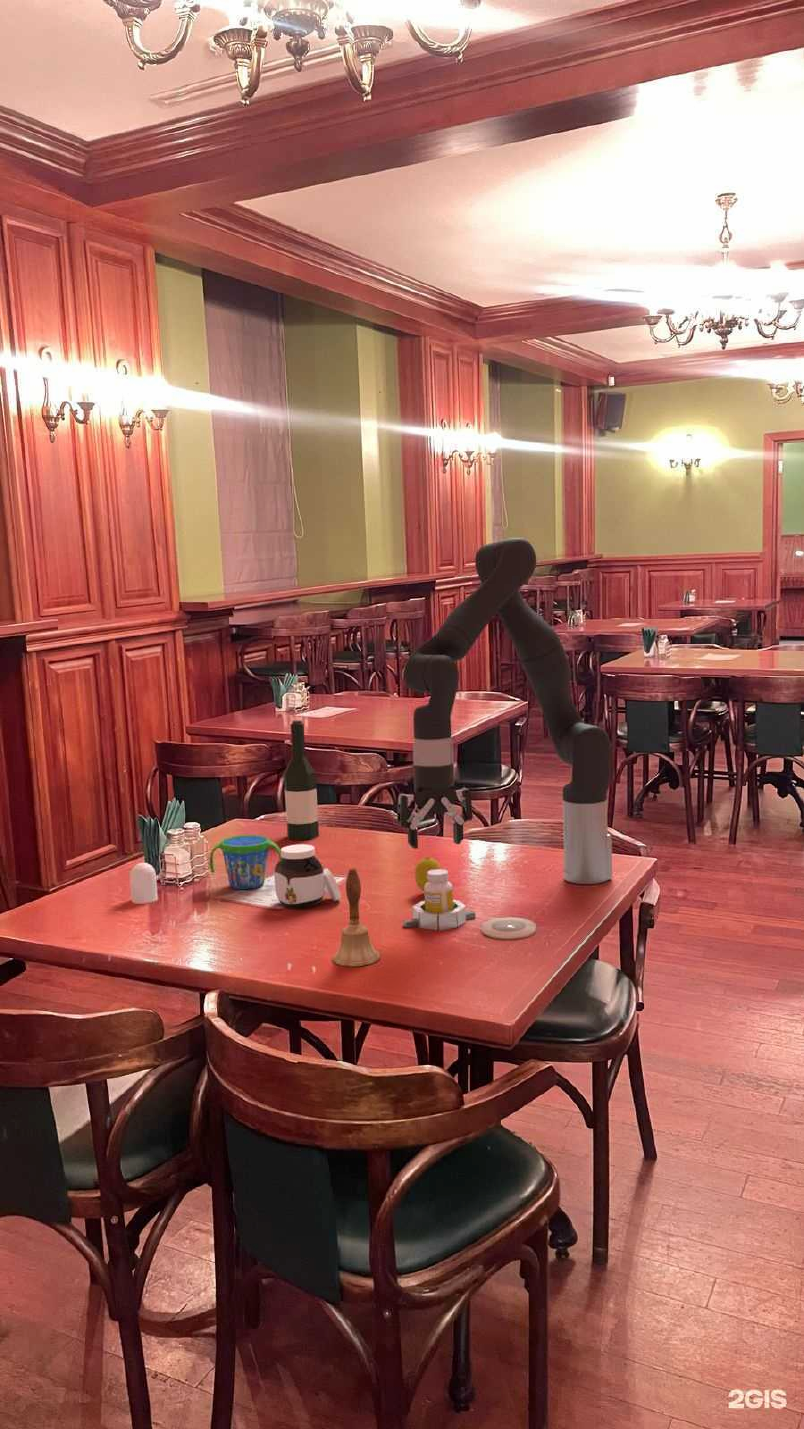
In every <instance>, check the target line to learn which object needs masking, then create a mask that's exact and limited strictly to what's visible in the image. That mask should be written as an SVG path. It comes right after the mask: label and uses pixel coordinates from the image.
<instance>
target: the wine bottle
mask: <svg viewBox="0 0 804 1429" xmlns="http://www.w3.org/2000/svg"><path fill="white" fill-rule="evenodd" d="M290 739H291V753H292V754H291V758H290V760H289V763H288V764H287V766H286V768H285V769H284V772H283V780H284V783H283V784H284V797H285V799H284V800H285V815H286V817H285V818H286V833H287V836H288V837H287V839H288V840H292V841H308V840H307V839H309V840H313V839H312V838H314V837H316V838H318V837H317V836H319V837H320V834H319V833H320V832H319V829H320V828H319V814H318V812H319V810H318V792H317V775H316V771H315V769H314V768H313V766H312V765H311V763H310V761H309V760H308V758H307V756H306V745H305V744H306V742H305V724H304V723H303V721H302V719H301V720H300V719H295V720H292V721H291V723H290ZM314 839H315V838H314Z"/></svg>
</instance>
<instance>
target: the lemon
mask: <svg viewBox="0 0 804 1429" xmlns="http://www.w3.org/2000/svg"><path fill="white" fill-rule="evenodd" d="M441 868H442V867H441V865H440V863H439V862H438V861H437V860H435V859H434V858H432V857H430V856H425V858H422V859H420V860H419V861H418V863H417V865H416V867H415V871H414V879H415V883H416V886H417V887H418V888H419V889H420V890H422V891H423V892H424V886H425V884H426V883H428V882H429V881H428V880H427V872H428V871H430V870H436V869H441Z"/></svg>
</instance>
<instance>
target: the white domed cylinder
mask: <svg viewBox="0 0 804 1429" xmlns="http://www.w3.org/2000/svg"><path fill="white" fill-rule="evenodd" d="M156 874H157V873H156V870H155V868H154V867H153V866H152V865H151V864H149V863H147V862H139V863H137V864H136V865H133V867H132V869H131V870H130V873H129V882H130V884H129V885H130V896H131V903H133V904H140V905H142V904H143V905H144V904H150V903H154V902H156V901H157V900H158V899H159V898H158V886H157V875H156Z"/></svg>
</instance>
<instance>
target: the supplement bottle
mask: <svg viewBox="0 0 804 1429" xmlns="http://www.w3.org/2000/svg"><path fill="white" fill-rule="evenodd" d="M427 880H428V881H429V882H428V883H426V884H425V886H424V891H423V892H424V895H423V896H424V901H425V911H429V912H437V913H439V912H446V911H453V900H454V892H453V890H454V889H453V884H452V883H451V882H450V881H448V880H449V871H448V870H447V869H436V870H430V871H428V872H427Z"/></svg>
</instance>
